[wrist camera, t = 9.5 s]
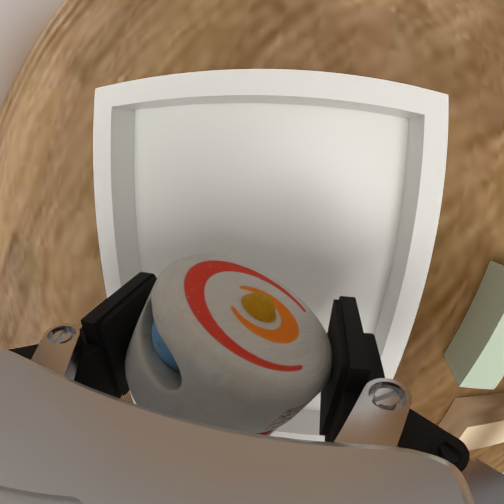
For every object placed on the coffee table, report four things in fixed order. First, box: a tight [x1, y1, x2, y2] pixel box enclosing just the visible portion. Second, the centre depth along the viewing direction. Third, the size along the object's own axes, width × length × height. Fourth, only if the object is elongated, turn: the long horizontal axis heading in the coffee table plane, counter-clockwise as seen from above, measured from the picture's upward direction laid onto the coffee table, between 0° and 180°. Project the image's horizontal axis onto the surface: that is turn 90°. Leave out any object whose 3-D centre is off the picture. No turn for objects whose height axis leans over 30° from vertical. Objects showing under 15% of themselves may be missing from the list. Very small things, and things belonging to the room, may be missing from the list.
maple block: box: [439, 392, 504, 451], centre depth 14 cm, size 6×3×3 cm, turn 88°
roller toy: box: [125, 255, 332, 436], centre depth 9 cm, size 4×6×6 cm
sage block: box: [444, 260, 504, 389], centre depth 11 cm, size 6×3×3 cm, turn 168°
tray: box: [93, 69, 448, 442], centre depth 13 cm, size 18×14×2 cm
